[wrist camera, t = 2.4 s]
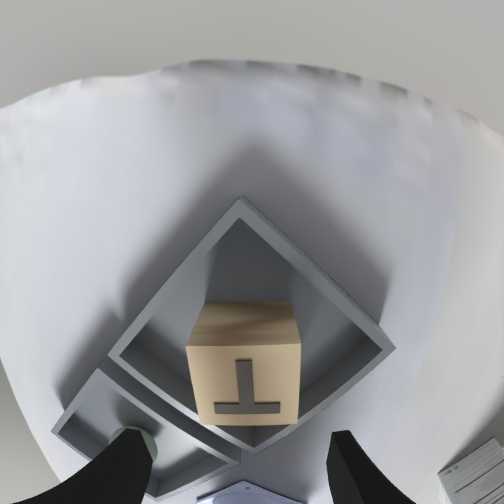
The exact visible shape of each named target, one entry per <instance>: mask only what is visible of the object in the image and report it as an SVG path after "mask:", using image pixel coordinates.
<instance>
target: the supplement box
mask: <svg viewBox="0 0 504 504" xmlns="http://www.w3.org/2000/svg"><path fill="white" fill-rule="evenodd" d="M437 482H438V497H439V499H440V501H441V503H442V504H504V450H503V448H502V447H501V446H500V444H499V443H498V441H497V440H496V439H495V437H493V438H492V439H491V440H489V441H488V442H487V443H485V444H484V445H482V446H481V447H479V448H478V449H477V450H475V451H474V452H472V453H471V454H469V455H468V456H466V457H465V458H463V459H461V460H460V461H458V462H457V463H455V464H453V465H452V466H450V467H448V468H447V469H445V470H443V471H442V472H440V473H438V474H437Z"/></svg>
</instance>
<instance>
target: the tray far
mask: <svg viewBox="0 0 504 504" xmlns="http://www.w3.org/2000/svg"><path fill="white" fill-rule="evenodd" d="M125 426H135V427H139V428H141V429H143V430H145V431H146V432H148V433H149V434H150V435H151V436H152V437H153V439H154V440H155V442H156V445H157V449H158V455H157V459H156V461H155V463H154V464H153V465H152V470H151V475H150V479H149V483H148V486H147V489H146V491H145V494H144V495H146V496H148V497H149V498H151V499H153V500H155V501H157V502H159V501H162V500H164V499H167V498H169V497H172V496H174V495H176V494H179V493H181V492H183V491H186V490H188V489H190V488H192V487H194V486H197V485H199V484H201V483H203V482H205V481H207V480H209V479H211V478H213V477H215V476H217V475H219V474H221V473H223V472H225V471H227V470H229V469H231V468H232V467H234V466H236V465H238V464H240V460H241V448H240V447H238V446H236V445H235V444H233V443H231V442H229V441H227V440H226V439H224V438H222V437H221V436H219V435H217V434H215V433H214V432H212V431H211V430H209V429H207V428H206V427H204V426H202V425H201V424H199V423H198V422H196V421H195V420H193V419H191V418H190V417H188V416H187V415H185V414H184V413H182V412H181V411H179V410H178V409H176V408H175V407H174V406H172V405H171V404H169V403H168V402H166V401H165V400H164V399H162V398H161V397H159V396H158V395H157V394H155V393H154V392H153V391H151V390H150V389H149V388H147V387H146V386H145V385H143V384H142V383H141V382H139V381H138V380H137V379H136V378H134V377H133V376H132V375H131V374H129V373H128V372H127V371H126V370H124V369H123V368H122V367H121V366H120V365H118V364H117V363H116V362H115V361H114V360H112V359H111V358H110V357H109V356H108V355H107V356H106V357H105V358H104V360H103V361H102V362H101V363H100V365H99V366H98V367H97V368H96V370H95V371H94V372H93V374H92V375H91V376H90V378H89V379H88V380H87V382H86V383H85V384H84V386H83V387H82V388H81V390H80V391H79V392H78V394H77V395H76V397H75V398H74V399H73V401H72V402H71V403H70V405H69V406H68V407H67V409H66V410H65V412H64V413H63V414H62V416H61V417H60V419H59V420H58V421H57V423H56V424H55V426H54V427H53V429H52V430H51V432H52V433H53V434H55V435H56V436H57V437H58V438H59V439H61V440H62V441H63V442H64V443H66V444H67V445H68V446H70V447H71V448H72V449H73V450H75V451H76V452H77V453H79V454H80V455H82V456H83V457H84V458H86V459H87V460H89V461H90V462H91V461H92V460H93V459H94V458H95V457H96V456H97V455H98V454H100V453H101V452H102V451H103V450H104V449H105V448H106V447H107V446H108V444H109V439H110V437H111V435H112V434H113V433H114V432H115V431H116V430H117V429H119V428H121V427H125Z"/></svg>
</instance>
